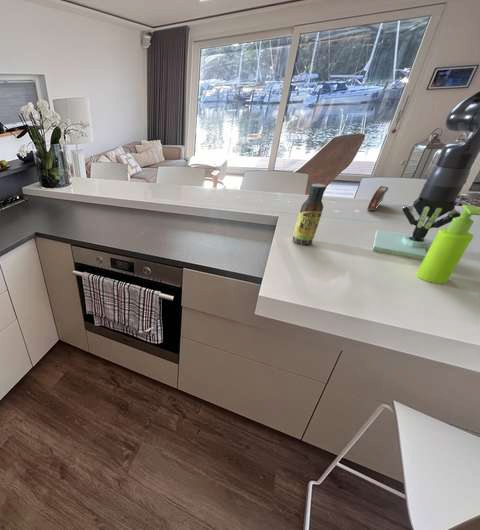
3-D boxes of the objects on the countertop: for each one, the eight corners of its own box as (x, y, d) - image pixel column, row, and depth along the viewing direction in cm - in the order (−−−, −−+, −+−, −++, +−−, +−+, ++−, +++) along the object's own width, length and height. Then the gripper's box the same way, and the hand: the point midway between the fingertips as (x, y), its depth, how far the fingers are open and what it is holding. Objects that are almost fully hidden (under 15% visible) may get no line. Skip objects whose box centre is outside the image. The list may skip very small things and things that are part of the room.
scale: (424, 240, 94) (428, 232, 93) (426, 260, 84) (431, 251, 82) (375, 232, 101) (379, 224, 100) (372, 250, 91) (376, 242, 90)
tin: (373, 202, 126) (381, 183, 121) (382, 203, 124) (390, 184, 119) (365, 212, 117) (372, 192, 113) (374, 213, 115) (382, 193, 111)
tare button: (421, 241, 90) (423, 237, 89) (421, 245, 88) (424, 241, 87) (408, 239, 92) (410, 235, 91) (408, 243, 90) (410, 238, 89)
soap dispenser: (419, 282, 76) (458, 210, 65) (413, 269, 80) (449, 201, 70) (450, 287, 73) (496, 213, 63) (443, 274, 78) (484, 203, 68)
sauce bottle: (293, 245, 98) (308, 187, 88) (289, 237, 103) (303, 182, 93) (315, 246, 96) (332, 187, 86) (310, 238, 101) (326, 182, 91)
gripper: (477, 181, 79) (446, 238, 88) (412, 177, 87) (389, 229, 95) (482, 188, 74) (448, 247, 83) (412, 183, 82) (388, 238, 91)
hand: (417, 238), depth 89 cm, fingers closed
